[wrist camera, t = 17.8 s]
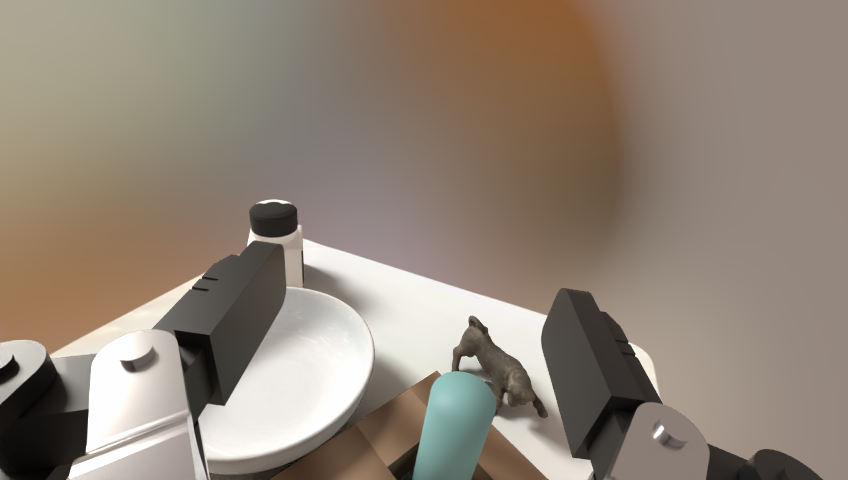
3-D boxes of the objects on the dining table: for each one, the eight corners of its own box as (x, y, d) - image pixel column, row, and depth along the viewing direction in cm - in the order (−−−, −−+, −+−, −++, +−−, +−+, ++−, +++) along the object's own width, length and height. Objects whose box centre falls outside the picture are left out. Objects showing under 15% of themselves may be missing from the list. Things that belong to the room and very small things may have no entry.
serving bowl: (410, 403, 41) (417, 359, 38) (206, 575, 27) (187, 530, 23) (305, 304, 52) (303, 264, 49) (122, 389, 38) (102, 340, 35)
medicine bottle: (304, 290, 55) (301, 217, 49) (251, 294, 53) (241, 218, 47) (303, 262, 61) (300, 194, 55) (255, 265, 58) (247, 194, 52)
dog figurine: (441, 364, 46) (451, 319, 43) (476, 348, 49) (488, 305, 46) (509, 447, 38) (528, 400, 34) (546, 422, 41) (568, 376, 37)
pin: (433, 544, 30) (464, 444, 23) (397, 494, 33) (416, 392, 26) (471, 504, 33) (509, 404, 26) (436, 462, 36) (462, 361, 29)
